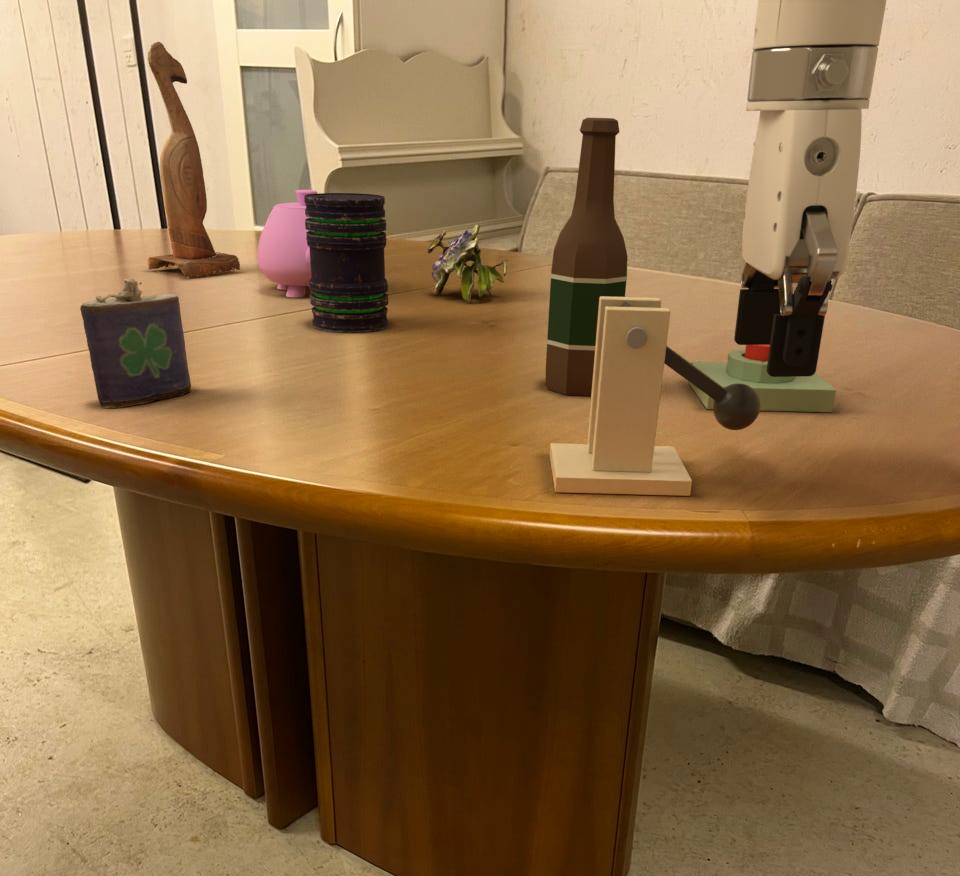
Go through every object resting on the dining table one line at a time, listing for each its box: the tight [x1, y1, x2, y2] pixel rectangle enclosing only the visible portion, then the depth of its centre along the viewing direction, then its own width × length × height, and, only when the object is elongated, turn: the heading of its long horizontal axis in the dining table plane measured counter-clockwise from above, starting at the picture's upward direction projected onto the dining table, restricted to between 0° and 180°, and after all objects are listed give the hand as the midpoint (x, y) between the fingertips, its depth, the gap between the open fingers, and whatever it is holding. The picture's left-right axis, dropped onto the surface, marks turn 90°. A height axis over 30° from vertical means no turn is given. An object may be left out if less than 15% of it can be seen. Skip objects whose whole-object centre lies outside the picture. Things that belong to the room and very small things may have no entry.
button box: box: [687, 348, 837, 413], centre depth 92 cm, size 12×10×4 cm
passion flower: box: [427, 223, 509, 304], centre depth 137 cm, size 11×11×12 cm
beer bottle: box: [545, 117, 628, 397], centre depth 89 cm, size 8×8×24 cm
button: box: [744, 345, 770, 361], centre depth 91 cm, size 4×4×2 cm
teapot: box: [256, 189, 318, 298], centre depth 135 cm, size 22×16×14 cm
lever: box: [621, 301, 760, 431], centre depth 68 cm, size 13×3×3 cm
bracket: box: [549, 296, 693, 497], centre depth 69 cm, size 10×8×13 cm
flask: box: [79, 278, 192, 409], centre depth 85 cm, size 9×3×11 cm, turn 136°
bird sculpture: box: [147, 41, 241, 279], centre depth 145 cm, size 11×12×32 cm
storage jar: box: [304, 192, 389, 334], centre depth 115 cm, size 10×10×15 cm
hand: (771, 358), depth 67 cm, fingers open, 9 cm apart
